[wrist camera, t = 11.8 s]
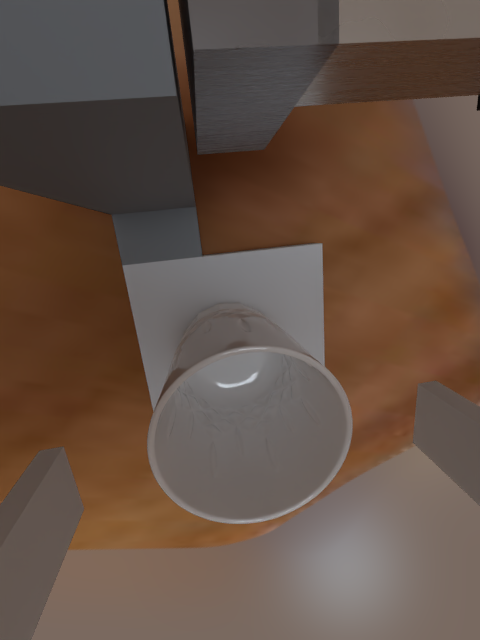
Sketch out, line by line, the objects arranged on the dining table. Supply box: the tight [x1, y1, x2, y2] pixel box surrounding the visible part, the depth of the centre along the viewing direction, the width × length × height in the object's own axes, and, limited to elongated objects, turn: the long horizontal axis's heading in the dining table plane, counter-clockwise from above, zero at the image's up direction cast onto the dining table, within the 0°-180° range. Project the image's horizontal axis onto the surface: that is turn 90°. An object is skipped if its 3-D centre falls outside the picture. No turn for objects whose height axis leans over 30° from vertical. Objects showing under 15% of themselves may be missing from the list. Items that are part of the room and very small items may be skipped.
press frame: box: [0, 0, 325, 412], centre depth 13 cm, size 13×21×16 cm, turn 6°
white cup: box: [147, 303, 352, 524], centre depth 16 cm, size 8×8×10 cm
